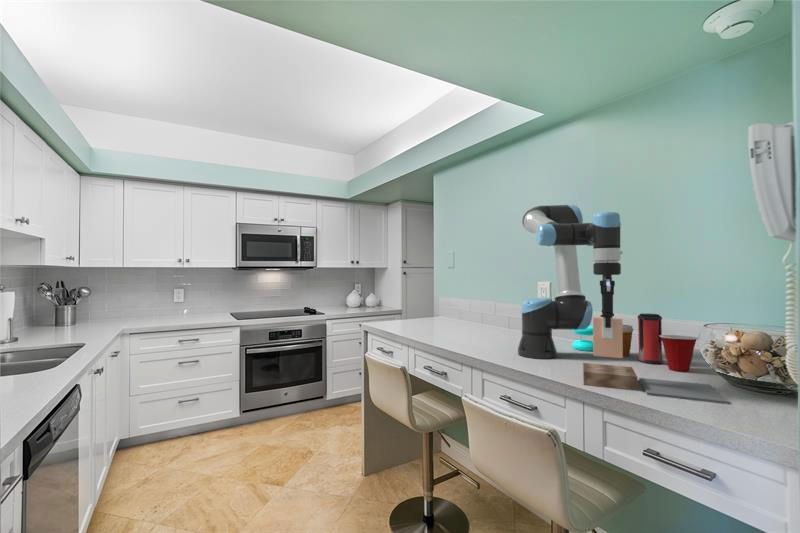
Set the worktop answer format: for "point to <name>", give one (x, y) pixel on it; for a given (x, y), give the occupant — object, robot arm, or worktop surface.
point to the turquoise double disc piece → (584, 344)
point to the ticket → (607, 339)
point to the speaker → (650, 338)
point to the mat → (682, 390)
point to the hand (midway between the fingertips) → (607, 337)
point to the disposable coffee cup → (627, 339)
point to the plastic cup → (678, 351)
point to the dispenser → (609, 376)
